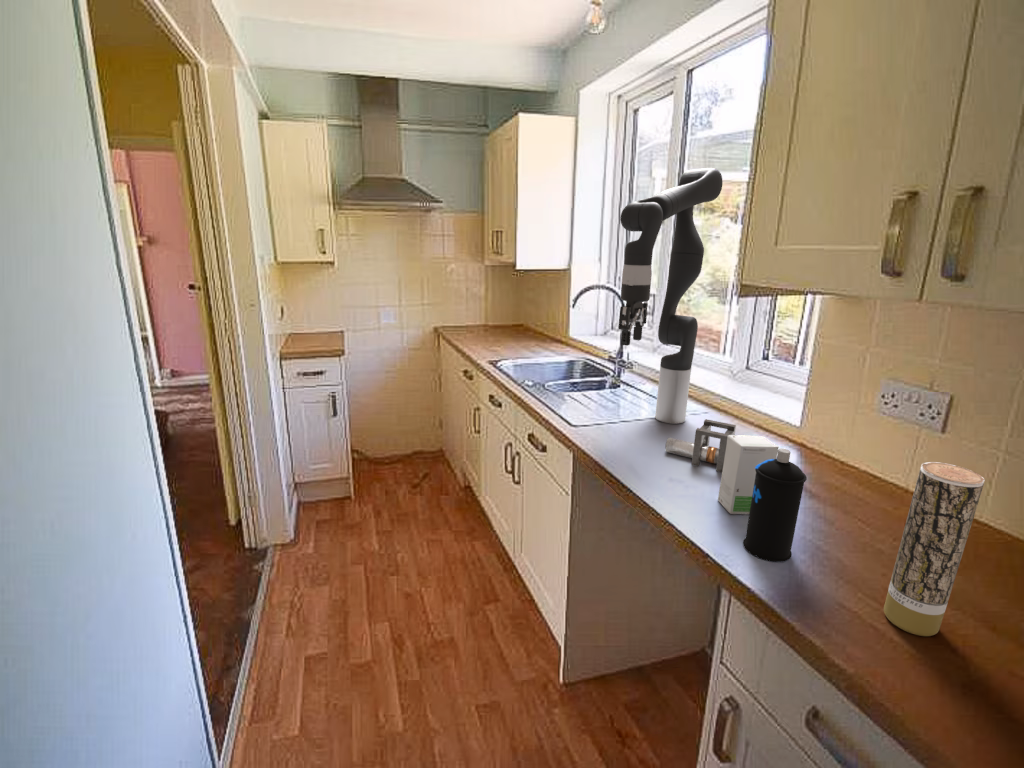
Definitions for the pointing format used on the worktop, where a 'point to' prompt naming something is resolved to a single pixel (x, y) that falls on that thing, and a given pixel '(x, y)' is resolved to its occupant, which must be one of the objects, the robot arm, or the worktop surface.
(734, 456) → the skincare box
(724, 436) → the frame
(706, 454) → the silver cosmetic tube
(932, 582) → the paper tube
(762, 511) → the aerosol can
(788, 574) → the worktop surface
